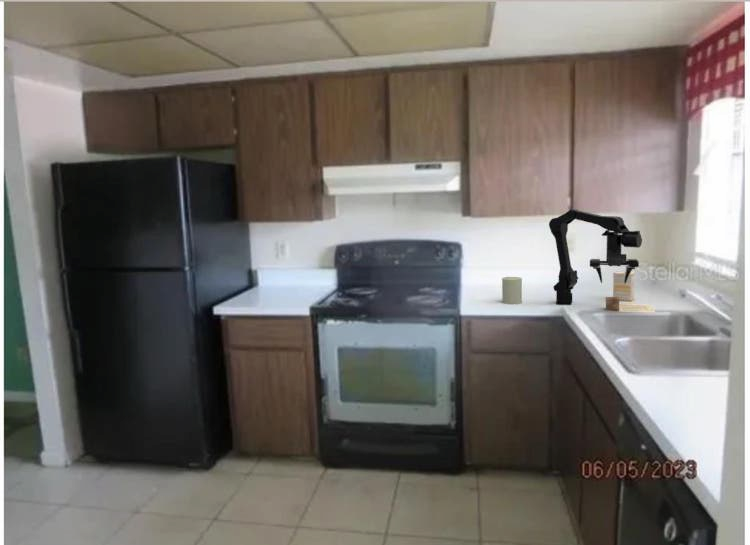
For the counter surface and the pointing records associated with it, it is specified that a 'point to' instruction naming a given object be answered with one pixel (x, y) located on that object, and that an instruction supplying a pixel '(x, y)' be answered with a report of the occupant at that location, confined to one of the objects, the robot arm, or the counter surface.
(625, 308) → the letter
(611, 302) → the walnut cube
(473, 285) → the counter surface
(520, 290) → the can
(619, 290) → the supplement box
